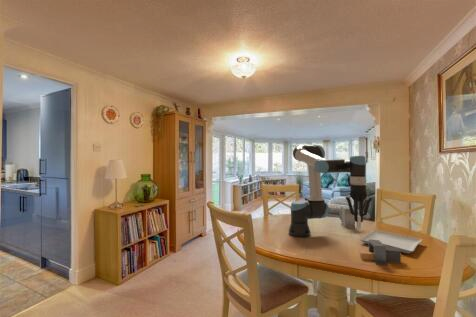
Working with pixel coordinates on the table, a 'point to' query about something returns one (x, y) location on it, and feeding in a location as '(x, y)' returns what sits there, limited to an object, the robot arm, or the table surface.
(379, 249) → the housing
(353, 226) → the circuit breaker
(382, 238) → the square plate
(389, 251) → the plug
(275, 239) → the table surface
